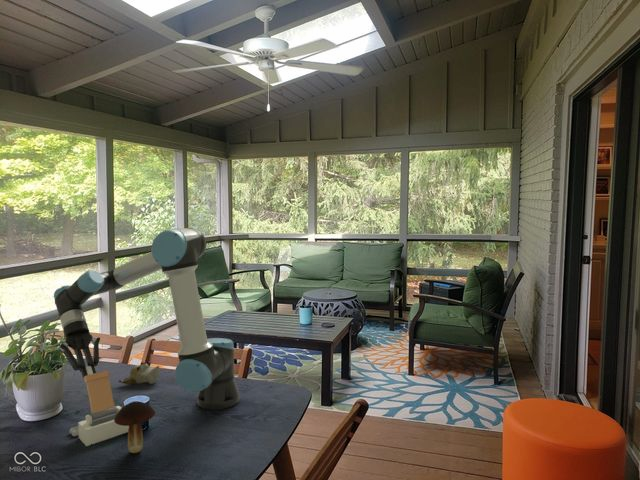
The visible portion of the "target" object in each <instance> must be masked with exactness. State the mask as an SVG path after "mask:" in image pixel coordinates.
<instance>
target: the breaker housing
mask: <svg viewBox="0 0 640 480" xmlns="http://www.w3.org/2000/svg"><path fill="white" fill-rule="evenodd" d="M115 406H116V405H115ZM116 408H117V413H118V412H119V411H120V410H121V409H122V408H123V407H122V406H120V405H117V406H116ZM117 413H114V414H111V415H108V416H105V417H101V418H98V419H95V420H92V417H91V414H86V415H85V420H81V421H77V426H74V427H71V428H70V429H69V431H68V432H69V434H70V435H71V436H72V437H77V436H78V439H79V440H80V441H81V442H82V443H83V444H84V446H85V447H88V446H91V444H92V445H94V444H96V443H100V442H103V441H106V440H110V439H112V438H114V437H118V436H120V435H123V434H126V433H127V434H128V429H129V426H122V425H118V424H116V423H115V422H114V420H115V417H116V415H117Z"/></svg>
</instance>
